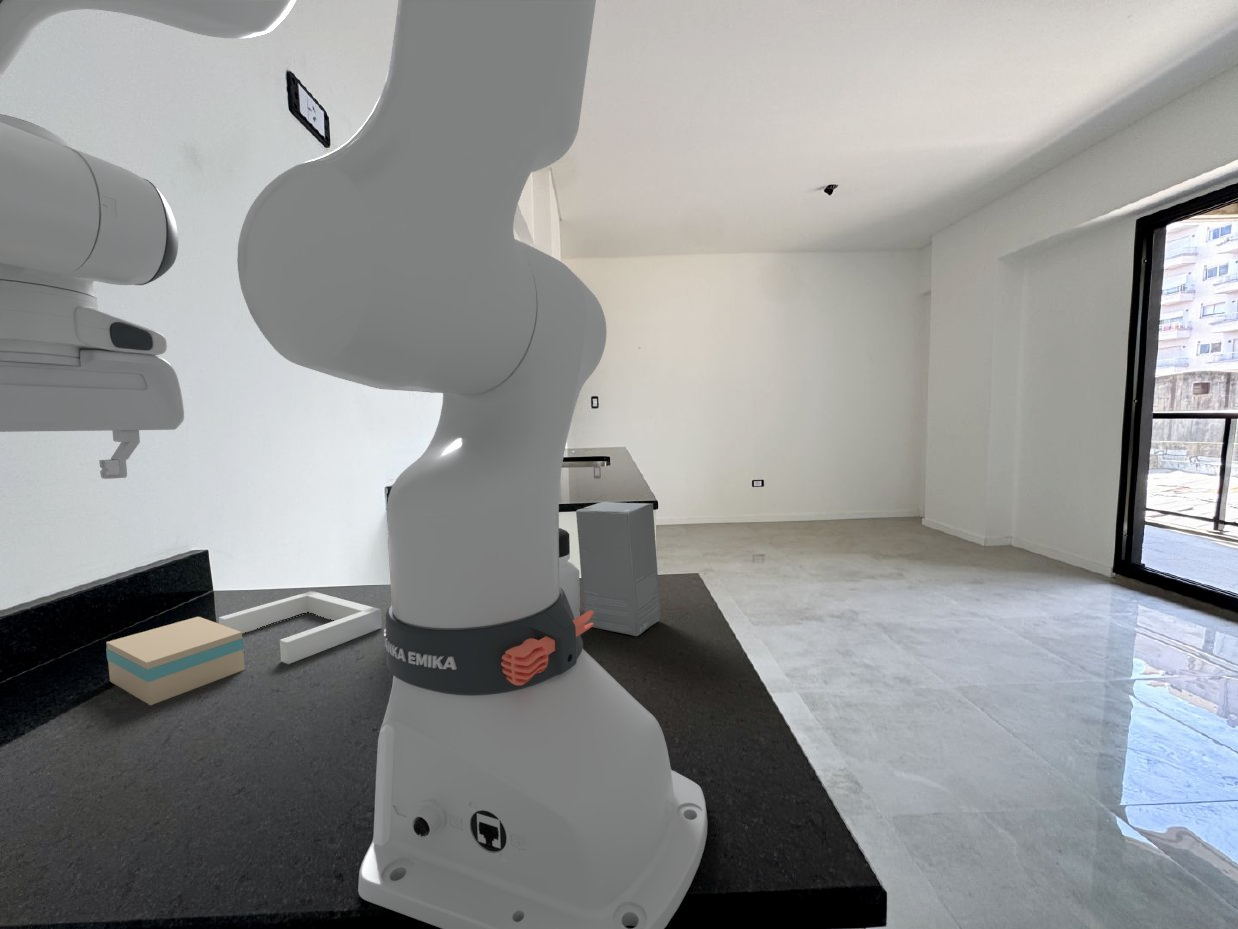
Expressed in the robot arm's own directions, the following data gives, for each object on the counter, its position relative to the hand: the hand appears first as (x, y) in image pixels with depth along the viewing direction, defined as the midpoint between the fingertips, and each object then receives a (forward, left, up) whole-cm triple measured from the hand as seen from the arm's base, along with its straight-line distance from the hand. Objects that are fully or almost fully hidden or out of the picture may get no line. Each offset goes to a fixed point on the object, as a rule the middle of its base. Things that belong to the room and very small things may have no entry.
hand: (42, 483), depth 46 cm
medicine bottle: (-25, -40, -22) cm, 52 cm away
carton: (0, -8, -22) cm, 23 cm away
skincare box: (-35, -42, -22) cm, 59 cm away
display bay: (0, -20, -22) cm, 30 cm away
